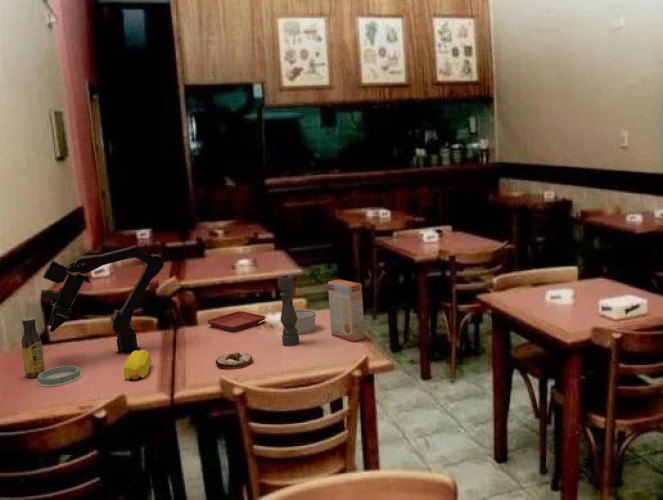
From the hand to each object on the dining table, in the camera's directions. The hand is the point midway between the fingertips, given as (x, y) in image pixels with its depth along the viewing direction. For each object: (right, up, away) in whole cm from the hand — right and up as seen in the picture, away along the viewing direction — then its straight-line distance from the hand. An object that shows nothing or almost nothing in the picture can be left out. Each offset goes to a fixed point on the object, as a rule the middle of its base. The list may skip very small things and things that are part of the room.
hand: (50, 328), depth 229 cm
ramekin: (+88, -4, +23) cm, 91 cm away
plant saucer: (+61, -4, +38) cm, 72 cm away
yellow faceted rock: (+35, -14, -13) cm, 40 cm away
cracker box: (+106, -4, +10) cm, 107 cm away
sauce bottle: (-2, -15, -8) cm, 17 cm away
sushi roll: (+67, -11, -11) cm, 69 cm away
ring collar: (+9, -15, -14) cm, 23 cm away
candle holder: (+85, -6, +7) cm, 86 cm away
